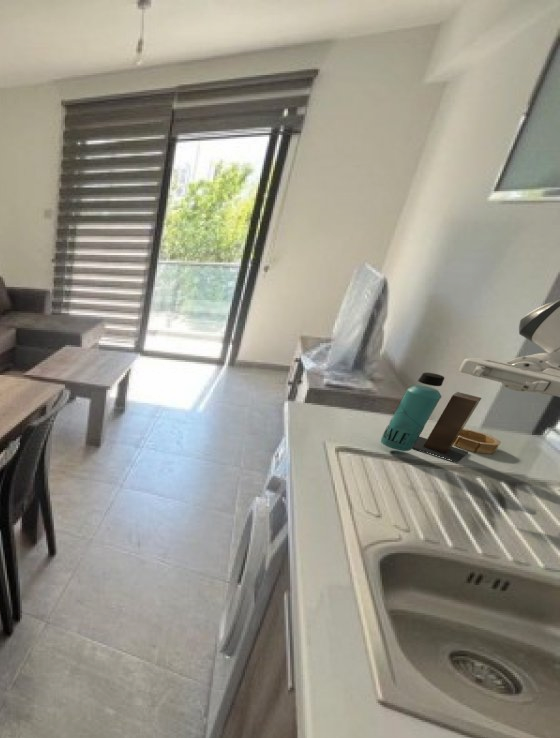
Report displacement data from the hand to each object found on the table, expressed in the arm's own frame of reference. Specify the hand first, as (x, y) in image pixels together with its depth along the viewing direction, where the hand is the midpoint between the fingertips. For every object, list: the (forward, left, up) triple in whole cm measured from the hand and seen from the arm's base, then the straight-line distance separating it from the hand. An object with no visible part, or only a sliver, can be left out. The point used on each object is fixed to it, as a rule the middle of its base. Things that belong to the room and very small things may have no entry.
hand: (502, 379), depth 116 cm
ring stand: (-1, 0, -18) cm, 18 cm away
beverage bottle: (+9, +23, -18) cm, 30 cm away
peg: (+3, +12, -17) cm, 21 cm away
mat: (+3, +12, -18) cm, 21 cm away
